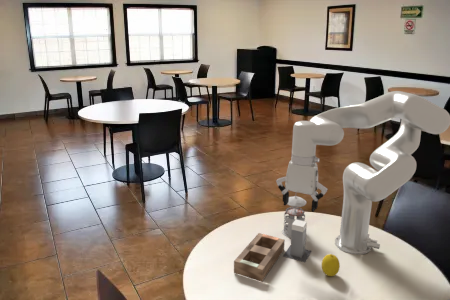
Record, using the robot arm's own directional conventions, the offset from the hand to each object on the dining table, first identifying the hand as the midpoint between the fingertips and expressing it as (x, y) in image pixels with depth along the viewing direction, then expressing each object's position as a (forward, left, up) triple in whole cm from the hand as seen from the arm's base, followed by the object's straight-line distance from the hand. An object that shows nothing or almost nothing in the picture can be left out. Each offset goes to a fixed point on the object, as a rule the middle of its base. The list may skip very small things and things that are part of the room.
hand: (299, 207), depth 128 cm
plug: (0, 0, -18) cm, 18 cm away
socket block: (+10, +10, -19) cm, 23 cm away
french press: (+6, -14, -19) cm, 24 cm away
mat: (0, 0, -19) cm, 19 cm away
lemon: (-13, +7, -19) cm, 24 cm away
